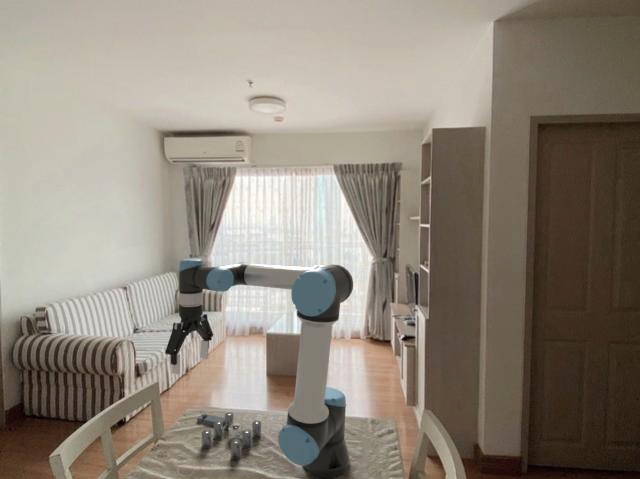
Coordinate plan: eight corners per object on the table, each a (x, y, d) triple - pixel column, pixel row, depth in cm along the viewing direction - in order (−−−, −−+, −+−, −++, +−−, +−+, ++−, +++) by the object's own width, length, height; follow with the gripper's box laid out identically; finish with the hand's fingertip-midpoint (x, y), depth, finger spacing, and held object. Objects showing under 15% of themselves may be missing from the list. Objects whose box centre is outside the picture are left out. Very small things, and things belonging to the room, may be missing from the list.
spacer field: (262, 435, 125) (262, 421, 125) (236, 461, 112) (236, 446, 111) (228, 424, 131) (228, 411, 131) (199, 447, 118) (199, 433, 117)
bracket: (220, 428, 129) (221, 423, 129) (196, 423, 132) (196, 418, 132) (226, 423, 133) (226, 417, 133) (203, 417, 136) (203, 412, 136)
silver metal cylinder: (245, 436, 125) (245, 425, 124) (237, 444, 120) (237, 433, 120) (234, 432, 127) (234, 421, 126) (225, 440, 122) (225, 429, 122)
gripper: (206, 296, 132) (206, 351, 133) (152, 311, 109) (152, 378, 110) (223, 298, 129) (222, 354, 130) (171, 314, 106) (171, 383, 107)
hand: (190, 365), depth 120 cm, fingers open, 13 cm apart
